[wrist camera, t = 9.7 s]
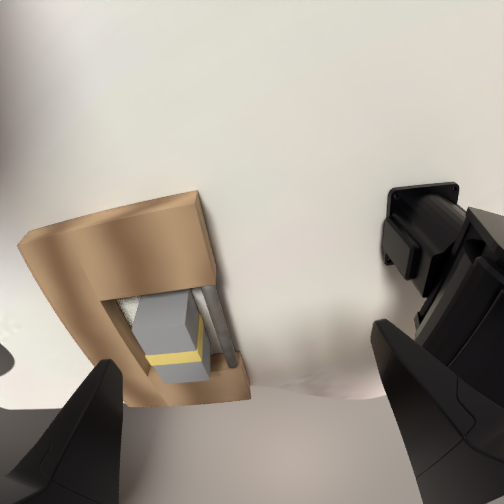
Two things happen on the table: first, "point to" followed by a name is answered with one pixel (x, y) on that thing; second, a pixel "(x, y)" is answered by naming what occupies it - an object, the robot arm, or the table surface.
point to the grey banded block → (173, 336)
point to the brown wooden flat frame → (134, 290)
